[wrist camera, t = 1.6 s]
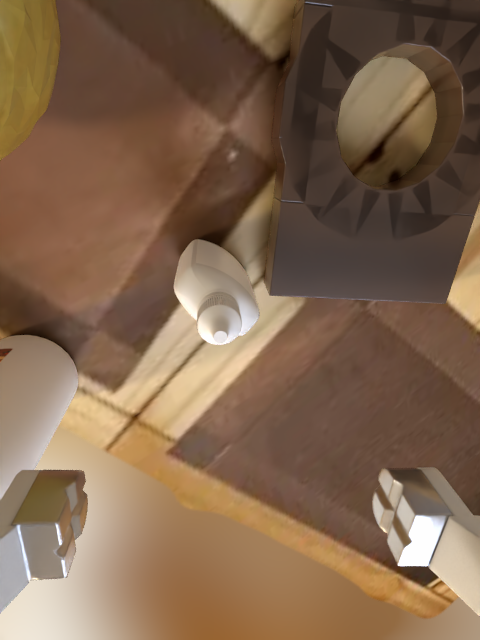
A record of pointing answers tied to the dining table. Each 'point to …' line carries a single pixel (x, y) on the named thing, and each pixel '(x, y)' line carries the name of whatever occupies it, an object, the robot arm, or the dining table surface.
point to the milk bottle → (31, 400)
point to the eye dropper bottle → (215, 292)
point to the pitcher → (26, 66)
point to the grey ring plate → (349, 192)
